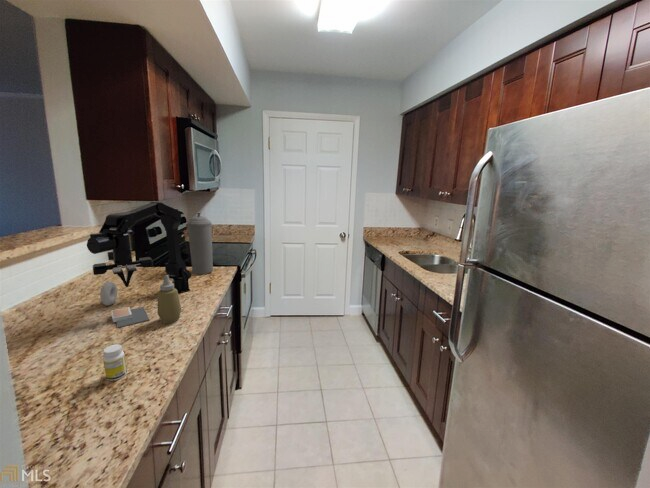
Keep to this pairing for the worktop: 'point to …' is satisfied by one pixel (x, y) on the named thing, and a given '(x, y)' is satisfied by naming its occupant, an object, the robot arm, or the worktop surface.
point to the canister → (200, 244)
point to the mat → (134, 318)
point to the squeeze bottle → (168, 302)
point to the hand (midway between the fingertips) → (126, 286)
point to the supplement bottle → (114, 362)
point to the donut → (108, 293)
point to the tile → (121, 314)
